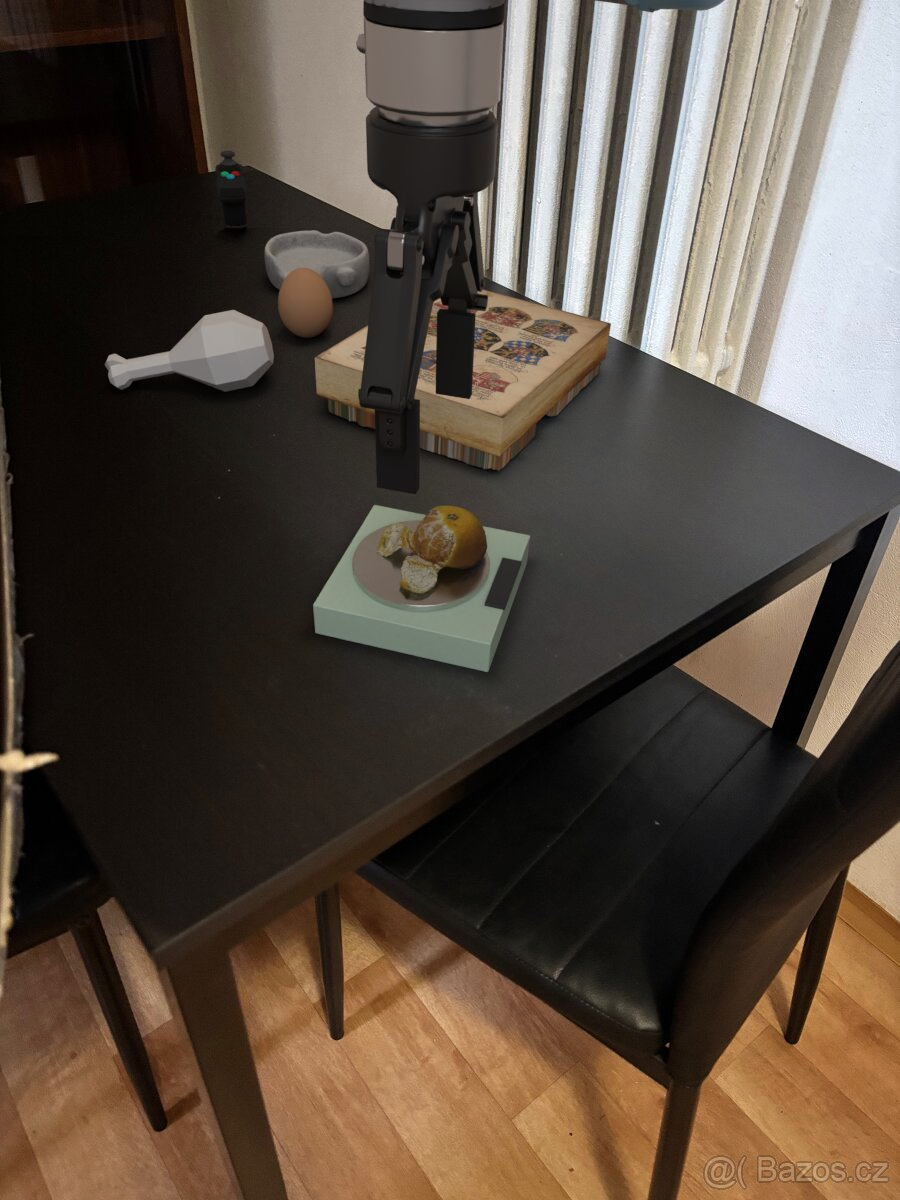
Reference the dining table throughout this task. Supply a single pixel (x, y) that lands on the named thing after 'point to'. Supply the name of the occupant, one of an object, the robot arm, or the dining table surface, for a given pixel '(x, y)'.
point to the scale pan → (385, 576)
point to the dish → (319, 259)
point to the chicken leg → (206, 355)
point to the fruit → (436, 545)
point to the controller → (231, 190)
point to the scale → (427, 634)
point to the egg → (305, 303)
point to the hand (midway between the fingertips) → (428, 438)
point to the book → (484, 378)
